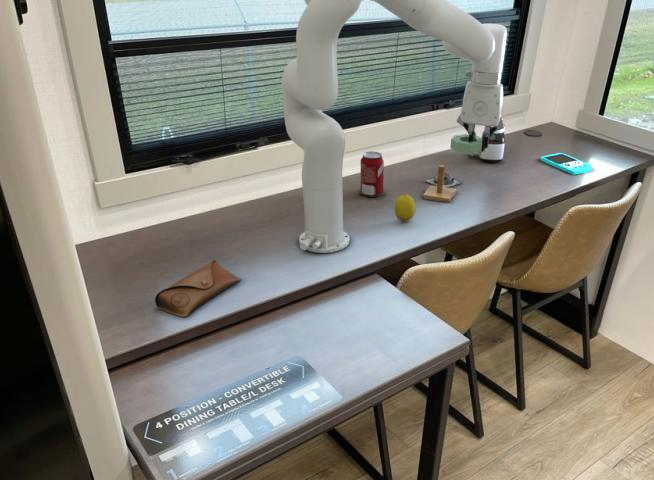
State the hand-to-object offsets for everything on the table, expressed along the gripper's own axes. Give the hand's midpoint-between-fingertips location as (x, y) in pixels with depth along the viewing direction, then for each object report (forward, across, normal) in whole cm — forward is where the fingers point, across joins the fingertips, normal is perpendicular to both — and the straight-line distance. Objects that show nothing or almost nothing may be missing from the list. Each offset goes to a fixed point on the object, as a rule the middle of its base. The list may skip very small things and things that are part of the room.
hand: (477, 148), depth 161 cm
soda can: (+18, -30, 0) cm, 35 cm away
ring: (0, -3, 0) cm, 3 cm away
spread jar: (+17, -5, +44) cm, 48 cm away
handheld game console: (+17, +22, +49) cm, 56 cm away
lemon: (+18, -15, -15) cm, 28 cm away
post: (+18, -11, +6) cm, 22 cm away
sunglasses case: (+19, -44, -67) cm, 82 cm away
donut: (+16, -13, +17) cm, 27 cm away
